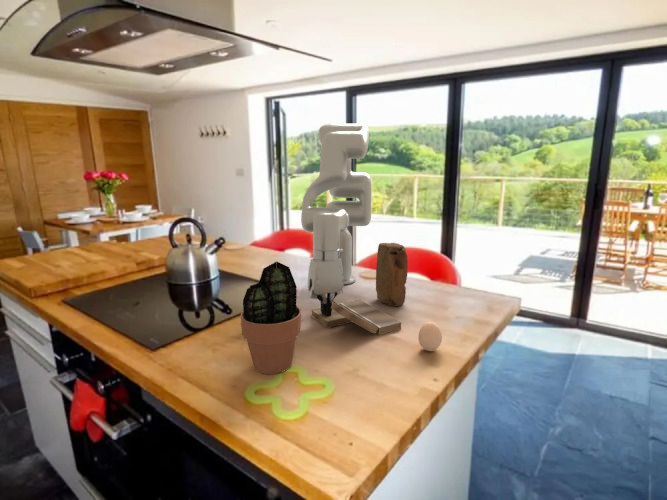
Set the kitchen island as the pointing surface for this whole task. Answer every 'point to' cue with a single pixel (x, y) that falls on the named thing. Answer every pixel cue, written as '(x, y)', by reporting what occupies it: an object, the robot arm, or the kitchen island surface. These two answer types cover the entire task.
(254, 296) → the potted plant
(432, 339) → the egg
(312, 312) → the plank
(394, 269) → the block
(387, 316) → the laid board
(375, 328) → the plank
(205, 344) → the kitchen island surface
